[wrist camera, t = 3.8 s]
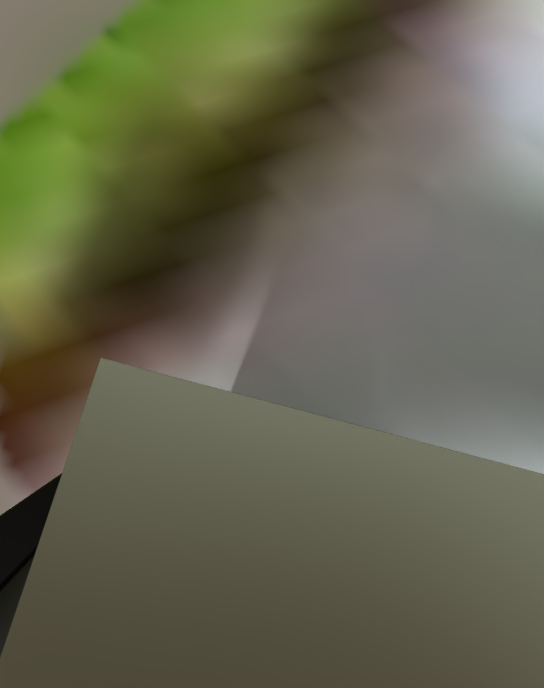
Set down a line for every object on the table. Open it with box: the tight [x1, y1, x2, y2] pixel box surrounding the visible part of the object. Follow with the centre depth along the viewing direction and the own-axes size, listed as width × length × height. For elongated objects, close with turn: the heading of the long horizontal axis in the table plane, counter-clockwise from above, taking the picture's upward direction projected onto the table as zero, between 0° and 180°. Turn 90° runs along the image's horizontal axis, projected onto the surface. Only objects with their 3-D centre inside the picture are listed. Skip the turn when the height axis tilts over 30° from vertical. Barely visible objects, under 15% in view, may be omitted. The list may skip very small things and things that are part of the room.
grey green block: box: [0, 358, 544, 688], centre depth 9 cm, size 6×4×12 cm, turn 165°
